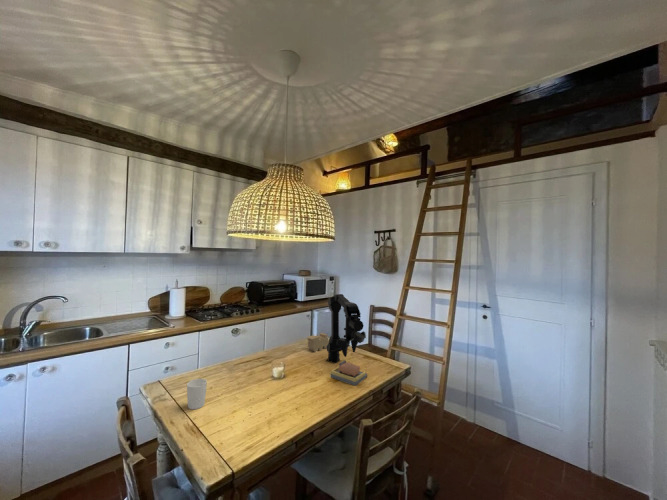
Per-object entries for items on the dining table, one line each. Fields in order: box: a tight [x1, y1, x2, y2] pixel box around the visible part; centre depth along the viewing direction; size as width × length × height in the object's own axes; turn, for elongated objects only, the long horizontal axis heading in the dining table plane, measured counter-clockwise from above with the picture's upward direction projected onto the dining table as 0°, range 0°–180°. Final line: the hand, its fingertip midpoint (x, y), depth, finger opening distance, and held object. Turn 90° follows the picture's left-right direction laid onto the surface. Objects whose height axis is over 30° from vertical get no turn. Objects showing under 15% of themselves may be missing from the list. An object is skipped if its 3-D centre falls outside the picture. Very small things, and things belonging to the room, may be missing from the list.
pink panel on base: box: [338, 360, 361, 377], centre depth 156 cm, size 10×6×5 cm, turn 55°
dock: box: [330, 365, 368, 387], centre depth 156 cm, size 16×13×4 cm
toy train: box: [306, 332, 329, 353], centre depth 198 cm, size 6×17×10 cm, turn 137°
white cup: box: [186, 378, 208, 410], centre depth 123 cm, size 8×8×10 cm
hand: (349, 354), depth 156 cm, fingers open, 9 cm apart
